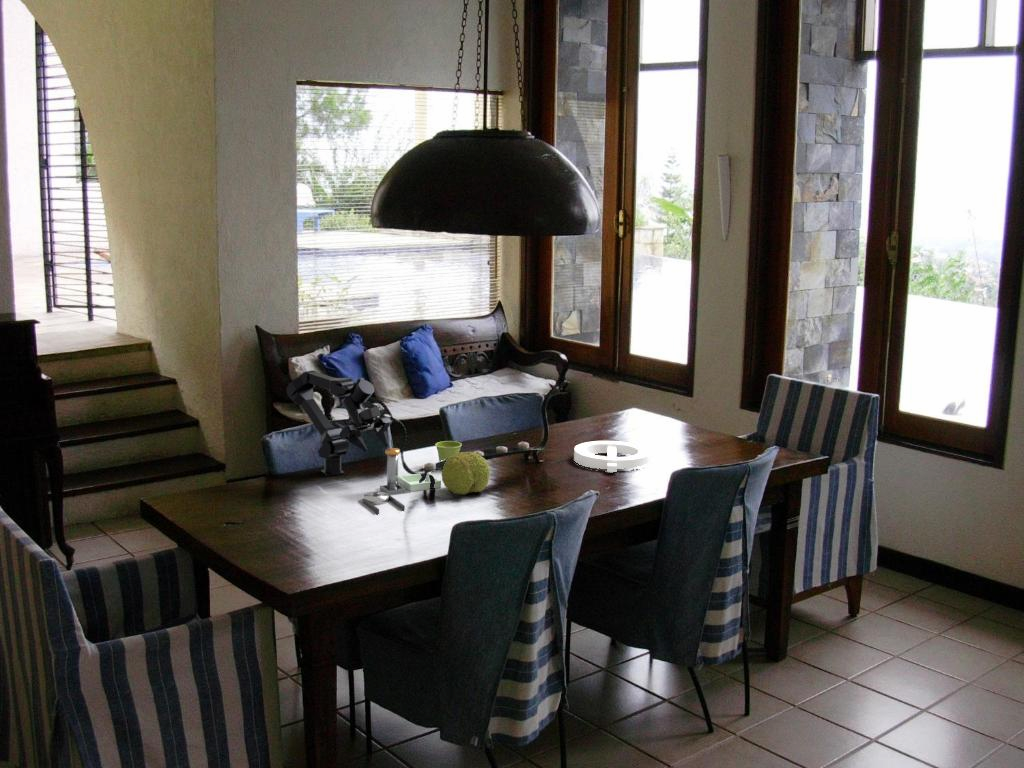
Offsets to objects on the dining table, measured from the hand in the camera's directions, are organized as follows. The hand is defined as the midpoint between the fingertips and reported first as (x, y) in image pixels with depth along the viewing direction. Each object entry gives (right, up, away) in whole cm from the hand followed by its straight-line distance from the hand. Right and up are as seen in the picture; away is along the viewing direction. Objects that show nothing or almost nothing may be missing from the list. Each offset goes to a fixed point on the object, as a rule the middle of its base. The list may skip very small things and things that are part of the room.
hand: (377, 449), depth 376 cm
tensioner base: (+5, -14, -3) cm, 15 cm away
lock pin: (+5, -14, -3) cm, 15 cm away
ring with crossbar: (+82, -8, +42) cm, 93 cm away
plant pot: (+22, -8, +29) cm, 37 cm away
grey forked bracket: (+3, -17, -17) cm, 25 cm away
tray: (+14, -13, +4) cm, 19 cm away
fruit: (+30, -15, -1) cm, 33 cm away
